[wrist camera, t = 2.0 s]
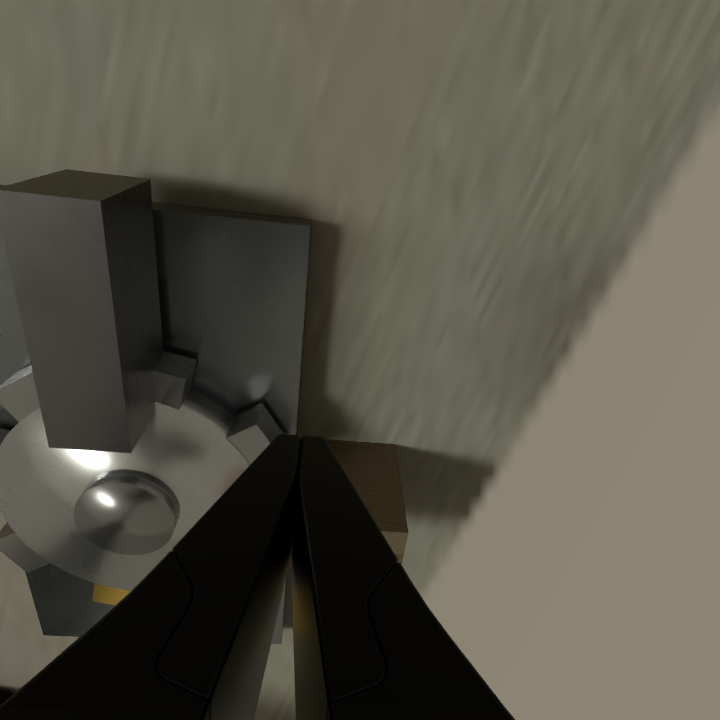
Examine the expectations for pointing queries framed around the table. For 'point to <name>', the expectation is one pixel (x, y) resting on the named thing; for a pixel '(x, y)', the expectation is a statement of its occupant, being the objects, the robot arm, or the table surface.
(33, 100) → the table surface
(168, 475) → the sprocket
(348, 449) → the striped gift box
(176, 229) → the base plate
